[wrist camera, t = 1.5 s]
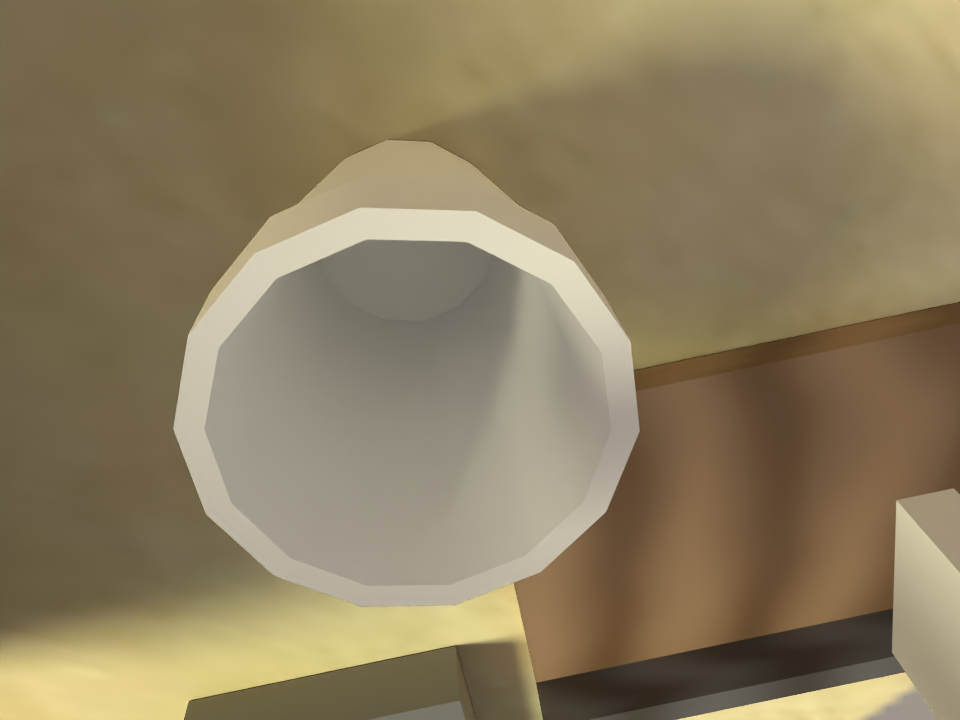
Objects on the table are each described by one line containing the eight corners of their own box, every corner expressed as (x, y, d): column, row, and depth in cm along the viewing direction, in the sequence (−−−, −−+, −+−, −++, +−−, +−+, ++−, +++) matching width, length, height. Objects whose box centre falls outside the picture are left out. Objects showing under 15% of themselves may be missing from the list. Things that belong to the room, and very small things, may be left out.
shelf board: (535, 675, 39) (549, 748, 35) (475, 404, 33) (484, 460, 29) (977, 583, 39) (1034, 648, 35) (1002, 293, 32) (1075, 337, 29)
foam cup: (559, 332, 32) (653, 566, 20) (307, 381, 32) (255, 643, 20) (520, 62, 27) (611, 159, 16) (229, 117, 27) (106, 255, 16)
